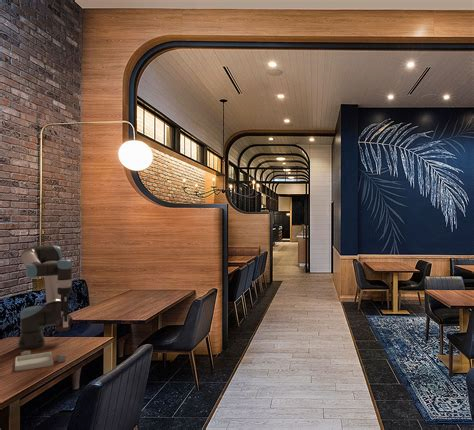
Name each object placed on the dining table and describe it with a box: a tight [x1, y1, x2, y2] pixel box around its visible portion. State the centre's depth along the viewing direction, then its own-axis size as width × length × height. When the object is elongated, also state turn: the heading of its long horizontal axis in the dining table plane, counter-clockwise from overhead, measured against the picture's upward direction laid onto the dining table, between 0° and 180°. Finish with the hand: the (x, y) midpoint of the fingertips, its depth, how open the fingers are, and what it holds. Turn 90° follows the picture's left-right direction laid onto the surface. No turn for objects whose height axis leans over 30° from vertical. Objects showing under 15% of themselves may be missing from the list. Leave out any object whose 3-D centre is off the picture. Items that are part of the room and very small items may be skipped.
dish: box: [14, 351, 54, 372], centre depth 220 cm, size 18×18×2 cm
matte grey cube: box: [20, 350, 32, 356], centre depth 231 cm, size 4×4×3 cm
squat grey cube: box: [55, 353, 67, 363], centre depth 224 cm, size 4×4×3 cm
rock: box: [54, 314, 74, 333], centre depth 237 cm, size 12×9×10 cm
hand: (64, 324), depth 237 cm, fingers closed on rock, 12 cm apart
